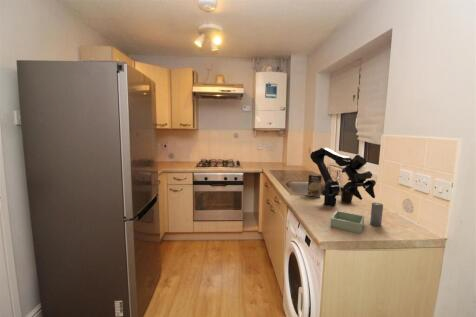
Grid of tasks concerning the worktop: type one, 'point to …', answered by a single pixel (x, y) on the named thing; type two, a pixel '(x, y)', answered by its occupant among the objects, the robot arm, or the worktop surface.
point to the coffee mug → (346, 196)
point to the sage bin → (347, 221)
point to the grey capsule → (376, 214)
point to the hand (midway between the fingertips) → (368, 198)
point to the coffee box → (314, 185)
